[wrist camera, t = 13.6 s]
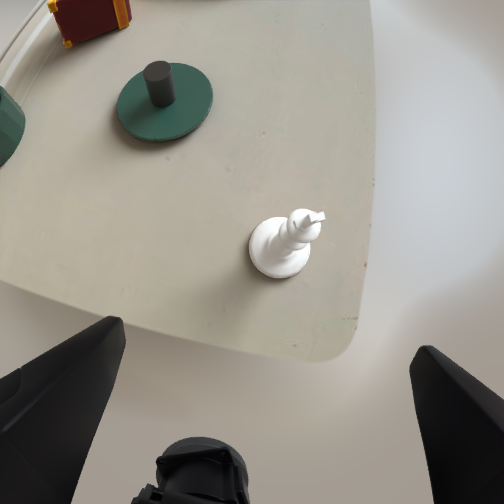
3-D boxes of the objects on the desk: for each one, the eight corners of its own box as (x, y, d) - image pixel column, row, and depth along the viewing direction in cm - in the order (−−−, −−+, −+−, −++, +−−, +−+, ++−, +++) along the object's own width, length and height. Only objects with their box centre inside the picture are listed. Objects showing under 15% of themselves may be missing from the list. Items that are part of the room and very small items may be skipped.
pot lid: (122, 155, 26) (105, 127, 21) (118, 81, 27) (105, 49, 22) (221, 133, 27) (221, 101, 22) (205, 62, 28) (203, 28, 23)
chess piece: (317, 267, 26) (370, 247, 16) (260, 286, 25) (285, 278, 16) (296, 210, 27) (337, 163, 17) (240, 228, 26) (252, 185, 16)
